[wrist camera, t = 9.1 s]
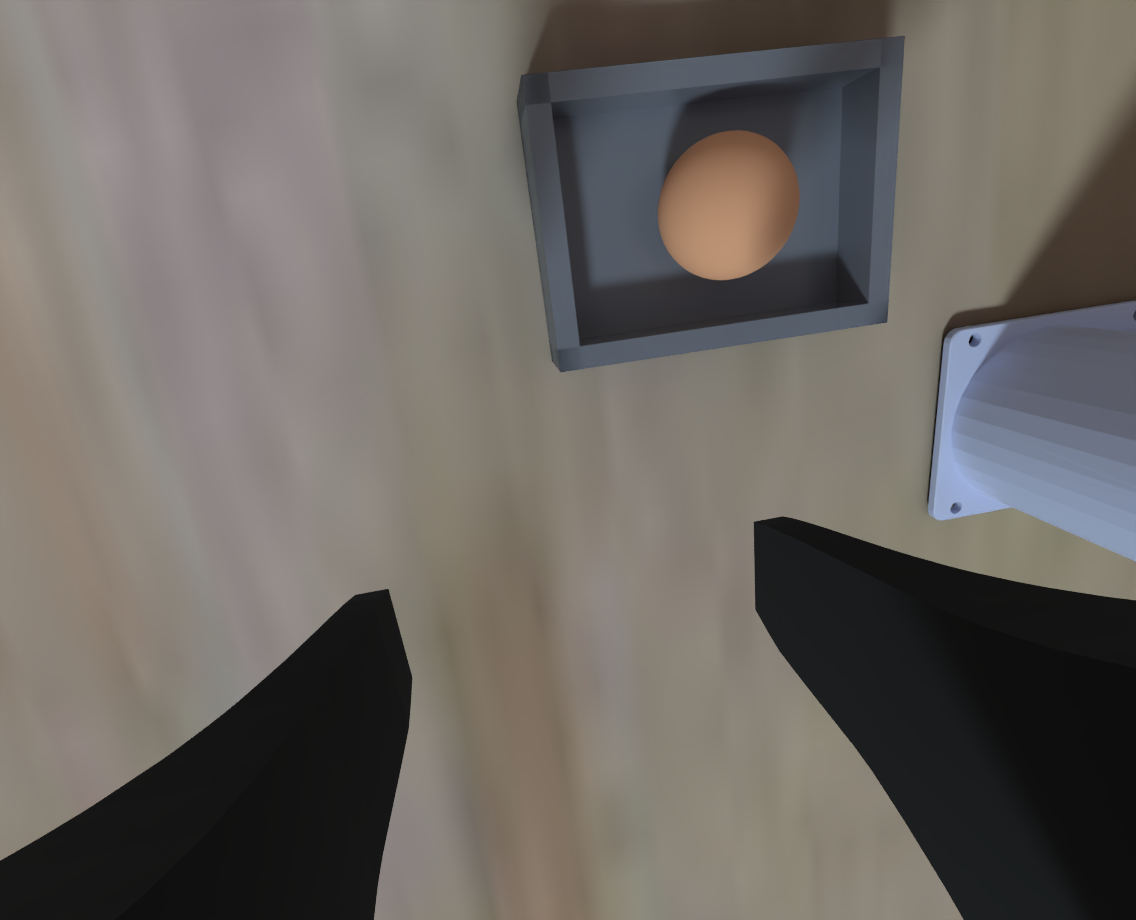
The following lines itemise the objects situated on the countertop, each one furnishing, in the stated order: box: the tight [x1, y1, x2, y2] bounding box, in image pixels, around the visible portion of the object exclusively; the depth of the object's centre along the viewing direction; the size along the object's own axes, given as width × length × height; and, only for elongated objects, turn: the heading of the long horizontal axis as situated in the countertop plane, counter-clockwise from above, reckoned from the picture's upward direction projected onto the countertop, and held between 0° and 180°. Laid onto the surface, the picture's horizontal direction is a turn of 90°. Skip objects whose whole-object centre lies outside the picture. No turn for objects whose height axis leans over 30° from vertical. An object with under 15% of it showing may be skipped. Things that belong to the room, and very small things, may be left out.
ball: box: [658, 130, 800, 280], centre depth 16 cm, size 4×4×4 cm
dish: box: [517, 36, 905, 372], centre depth 18 cm, size 11×8×2 cm
